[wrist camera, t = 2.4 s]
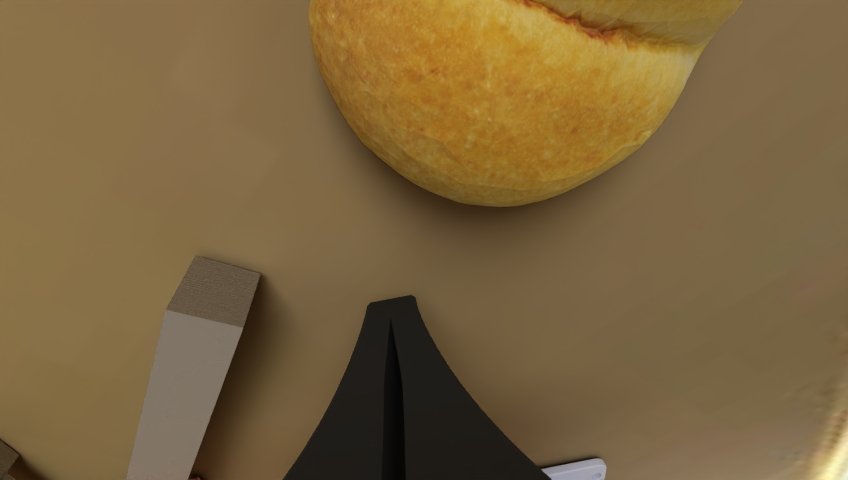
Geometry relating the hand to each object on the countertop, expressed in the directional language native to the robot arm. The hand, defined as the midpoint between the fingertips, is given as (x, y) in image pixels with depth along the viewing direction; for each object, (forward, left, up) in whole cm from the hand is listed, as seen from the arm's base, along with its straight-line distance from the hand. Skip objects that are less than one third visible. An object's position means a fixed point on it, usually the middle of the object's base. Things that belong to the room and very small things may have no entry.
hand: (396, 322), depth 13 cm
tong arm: (-3, +8, -1) cm, 9 cm away
